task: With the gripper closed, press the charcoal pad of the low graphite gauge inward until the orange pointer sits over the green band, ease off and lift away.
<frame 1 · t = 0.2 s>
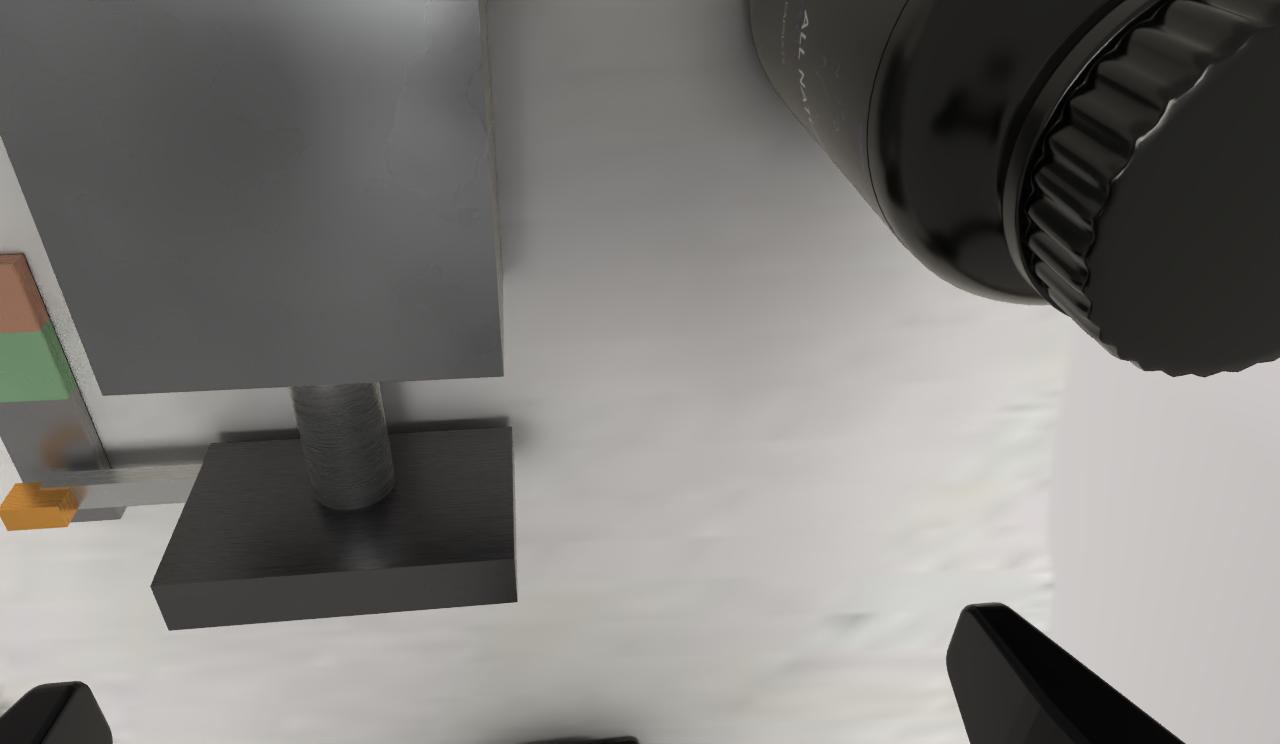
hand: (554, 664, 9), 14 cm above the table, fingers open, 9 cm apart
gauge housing: (312, 123, 19), on the table
gauge plunger: (209, 351, 19), point 3 cm above the table, slide at 0.0 cm
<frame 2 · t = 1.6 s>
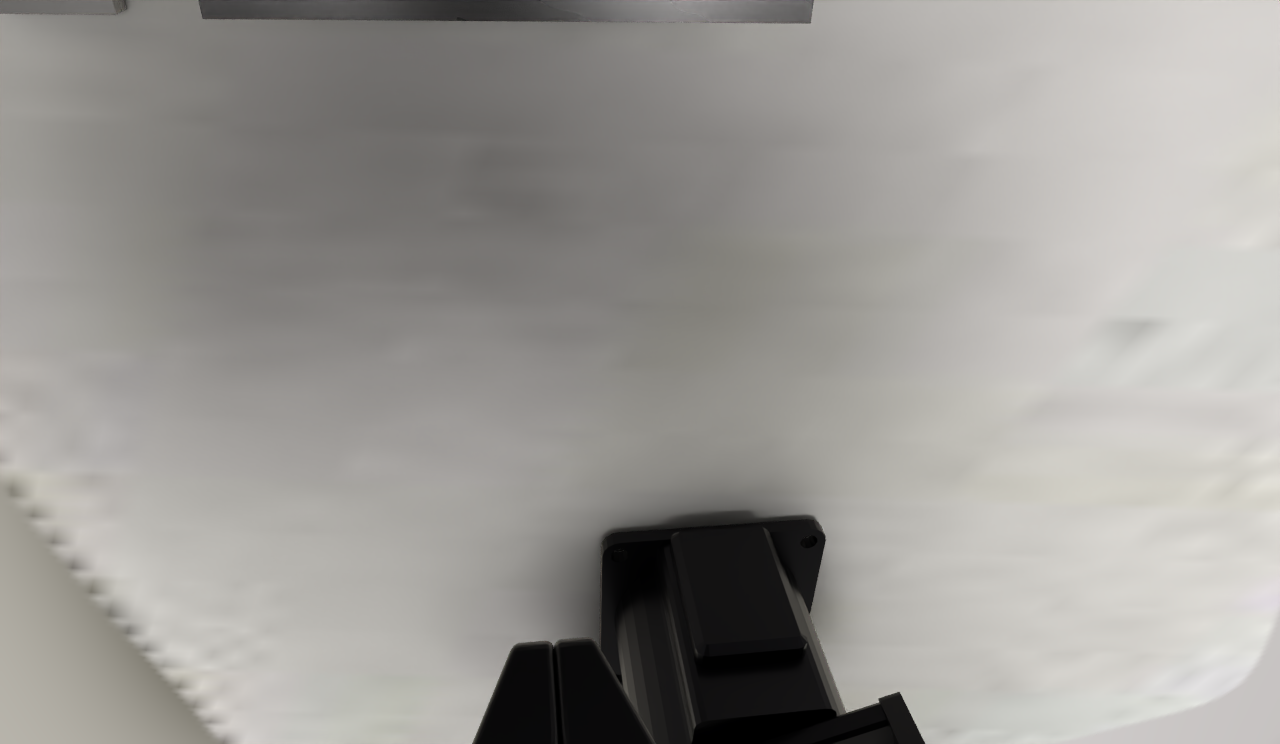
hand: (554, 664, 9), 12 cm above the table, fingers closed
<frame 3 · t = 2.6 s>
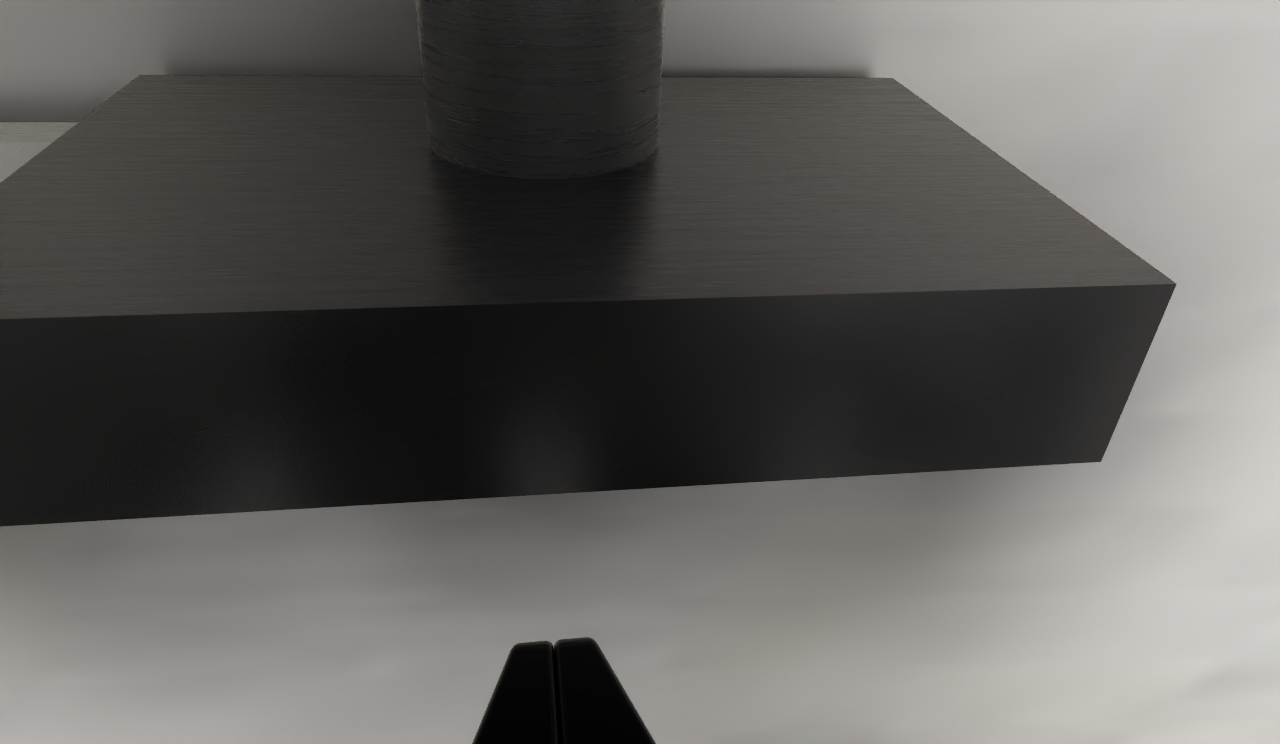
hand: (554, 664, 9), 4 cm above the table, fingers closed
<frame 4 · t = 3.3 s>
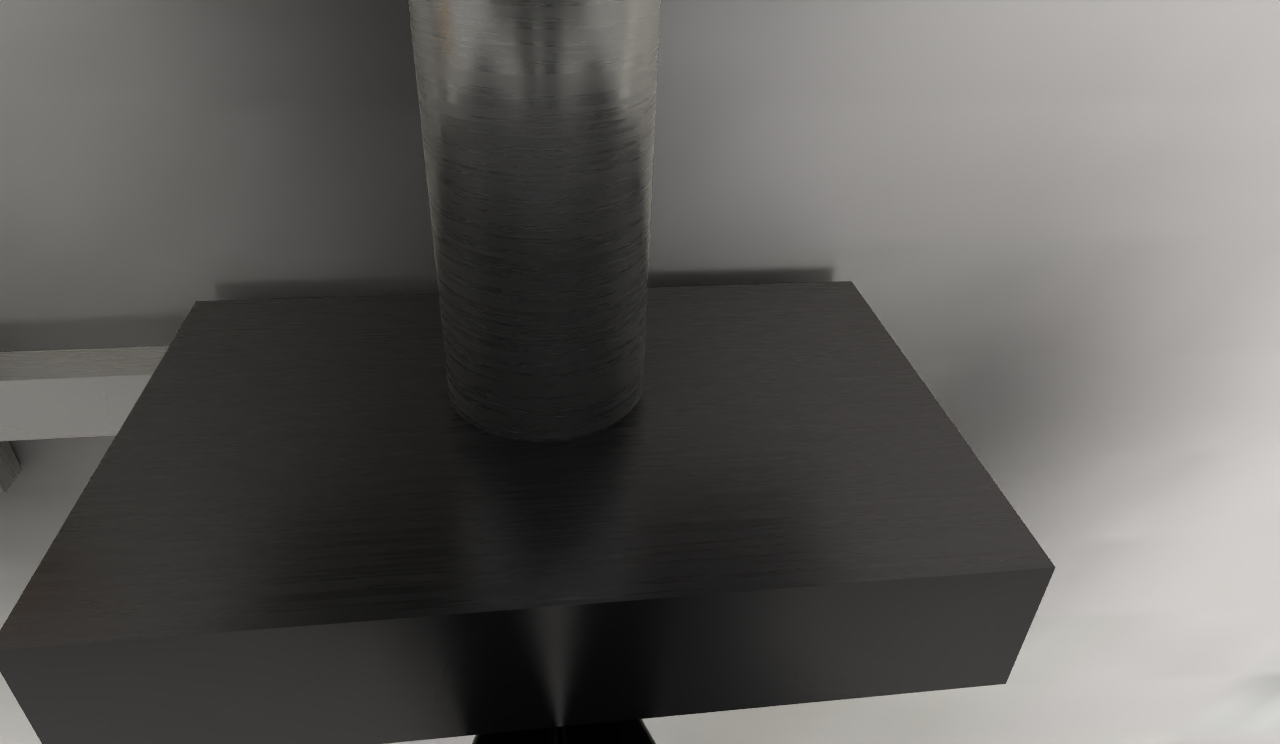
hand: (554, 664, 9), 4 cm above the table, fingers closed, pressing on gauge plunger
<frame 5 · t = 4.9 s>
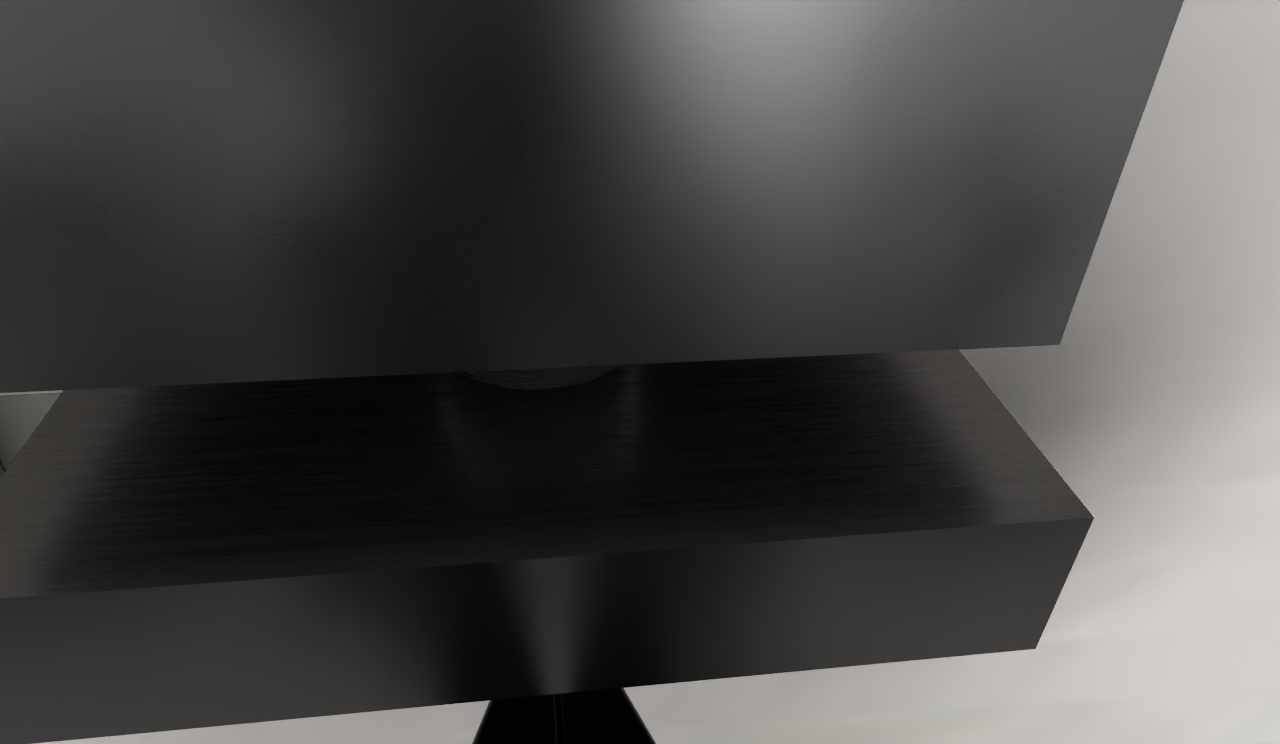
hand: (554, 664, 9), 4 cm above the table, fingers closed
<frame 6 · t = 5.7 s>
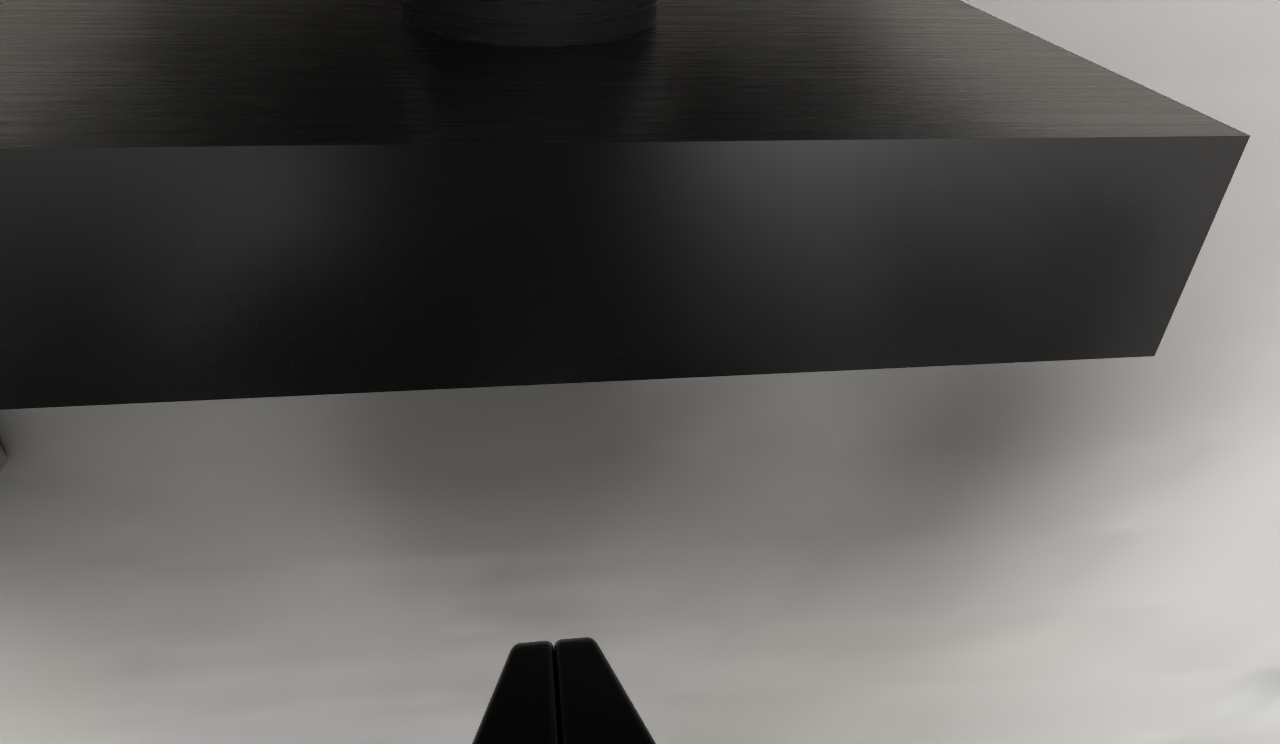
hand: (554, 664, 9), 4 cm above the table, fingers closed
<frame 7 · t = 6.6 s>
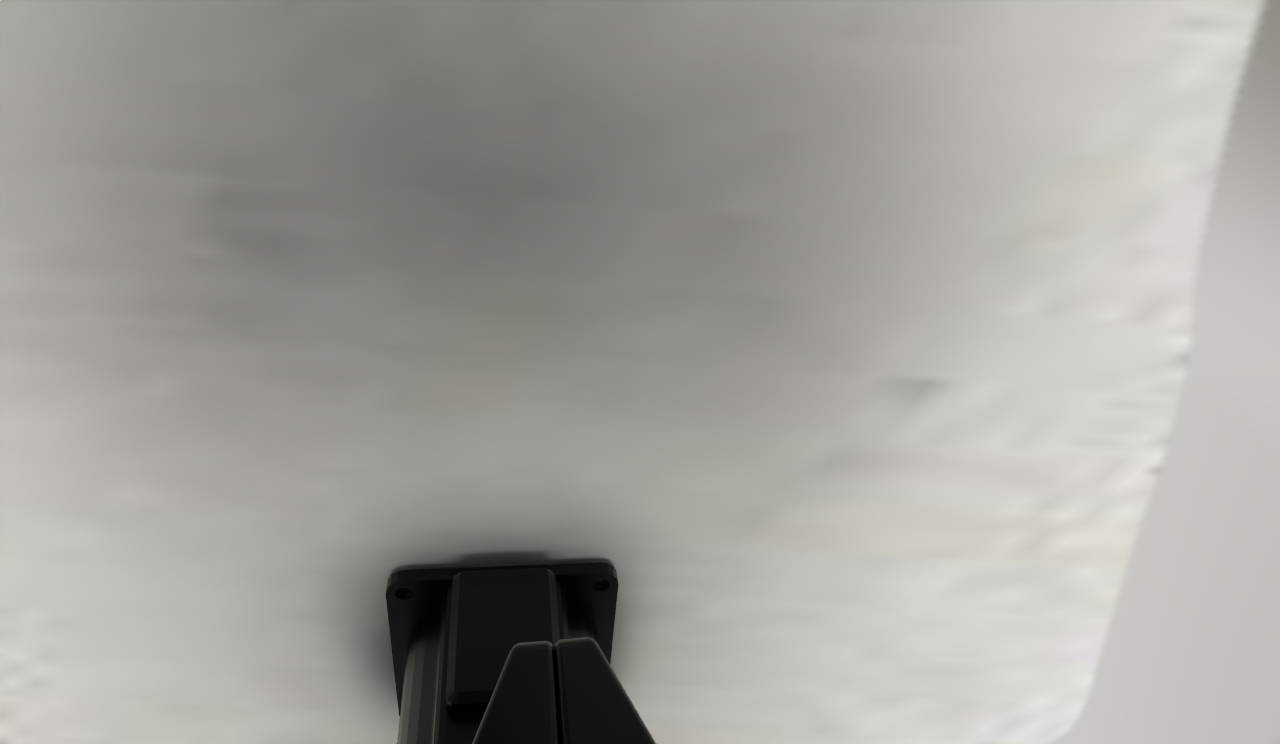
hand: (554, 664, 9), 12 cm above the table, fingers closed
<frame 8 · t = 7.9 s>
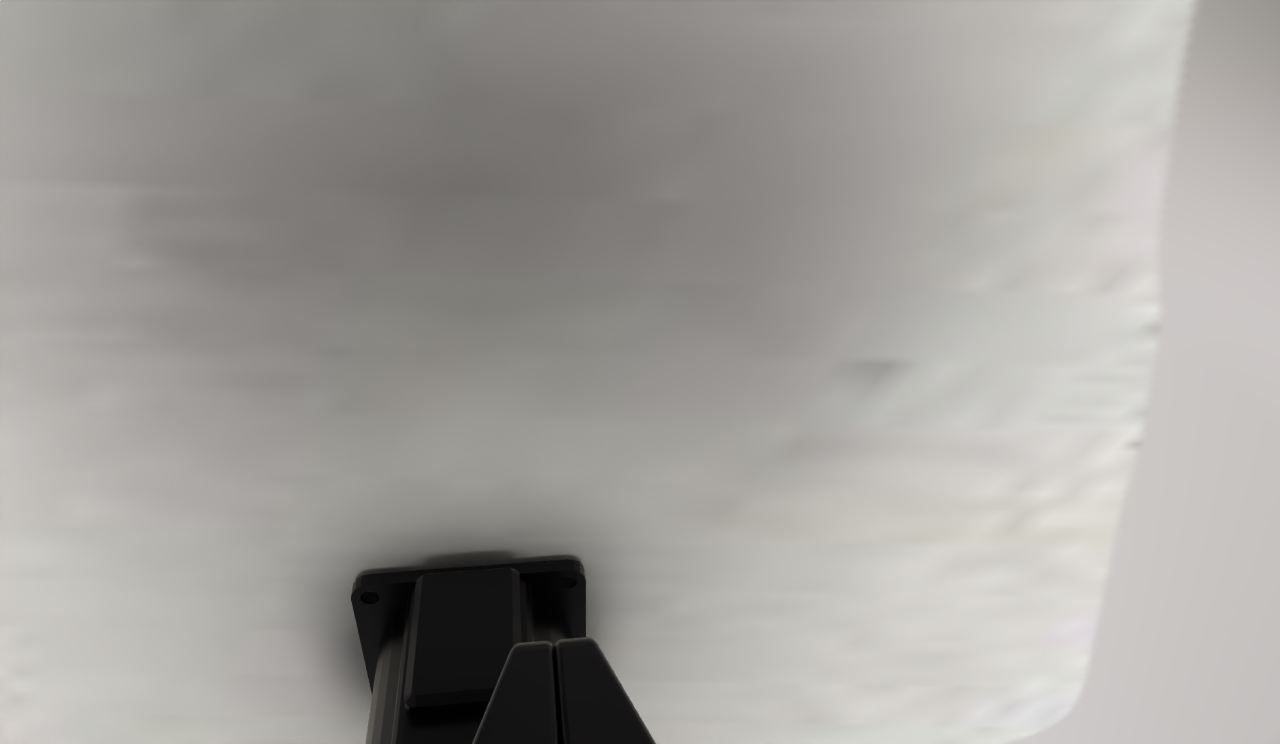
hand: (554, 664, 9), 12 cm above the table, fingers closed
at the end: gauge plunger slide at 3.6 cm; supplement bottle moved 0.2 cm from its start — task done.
